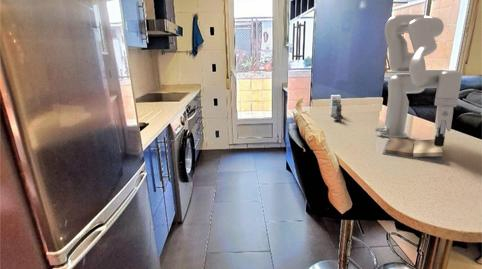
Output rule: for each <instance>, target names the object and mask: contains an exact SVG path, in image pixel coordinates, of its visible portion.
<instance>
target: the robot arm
mask: <svg viewBox="0 0 482 269" xmlns="http://www.w3.org/2000/svg"><path fill="white" fill-rule="evenodd" d="M443 31H444V22H443V20H442V19H441V18H439V17H437V16H436V17H435V16H430V15H426V14H405V13H404V14H397V15H396V14H395V15H393V16H391V17H390V18H389V19H387V21H386V24H385V26H384V38H385V41H386V44H387V50H388V62H389V68H390V69H389V70H391V71H392V72H394V73H399V74H395V75H392V76H391V77H390V78H389V79H388V82H387V91H388V96H387V104H386V114H385V120H384V125H382V127H374V132H379V134H380V136H382V137H385V138H388V139H390V138H398V139H407V138H408V133H406V132H405V131H406V125H407V121H408V119H407V117H408V114H409V113H408V112H409V106H410V105H409V104H410V100H409V99H408V96H407V94H420V93H422V92H424V91H425V89H436V90H435V91H436V93H435V98H434V103H433V104H434V106H437V107H436V113H435V114H436V115H435V123H434V125H435V130H436V133H435V136H434V139H435V141H434V145H437V146H442V147H443V146H444V145H445V137H446V131H447V132H450V131H451V129H452V122H453V115H454V108H455V107H457V106H458V100H459V95H460V90H461V84H462V80H463V73H462V72H461V71H458V70H445V69H426V68H427V67H426V60H425V57H427V56H429V55H431V54H432V53H434V52H435V51H436V50H437V49H438V45H437V41H436V39H435V38H437V37H438V36H440V35H442V34H443ZM402 34H408V35H409V40H410V42H411V45H412V50H413V52H410V51H409V47H408V42H407V40H406V39H405V37H404V36H403V35H402ZM402 73H403V74H402ZM406 73H407V74H406Z"/></svg>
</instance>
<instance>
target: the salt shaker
mask: <svg viewBox="0 0 482 269" xmlns="http://www.w3.org/2000/svg"><path fill="white" fill-rule="evenodd" d="M342 111H343V110H342V104H341V103H339V104H338V105H337V109H336V115H334V117H333V118H334V120H333V122H334V123H343V121H342V119H344V118H343V117H344V115H342Z"/></svg>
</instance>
